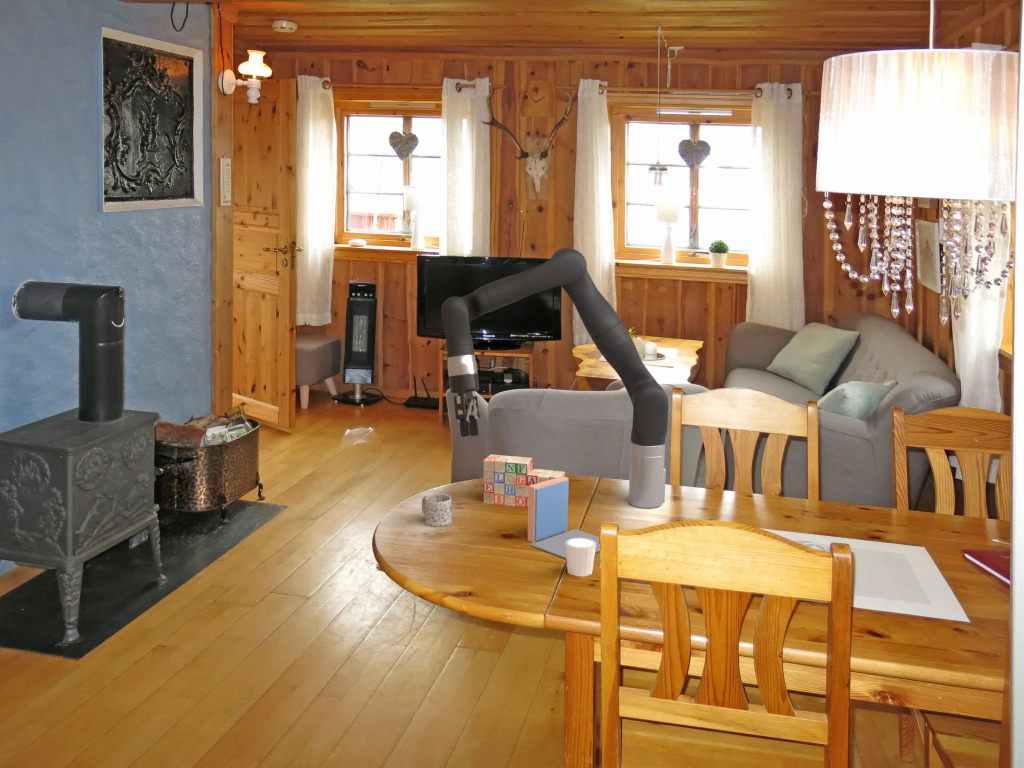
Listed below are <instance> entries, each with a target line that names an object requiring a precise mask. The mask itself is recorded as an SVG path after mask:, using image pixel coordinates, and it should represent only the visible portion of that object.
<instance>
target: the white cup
mask: <svg viewBox="0 0 1024 768" xmlns="http://www.w3.org/2000/svg"><path fill="white" fill-rule="evenodd" d="M595 548H596V542H595V541H593V540H591V539H587V538H572V539H569V540H567V541H566V556H567V560H566V567H567V568H566V569H567V573H568V574H569V575H571V576H573V575H574V576H573V577H579V576H580V577H581V578H582V577H589V576H591V575H592V574H593V572H594V562H595V555H596V554H595ZM592 571H593V572H592ZM590 574H591V575H590ZM588 575H589V576H588Z"/></svg>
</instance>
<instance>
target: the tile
mask: <svg viewBox="0 0 1024 768" xmlns="http://www.w3.org/2000/svg"><path fill="white" fill-rule="evenodd" d="M569 486H570V485H569V477H567V476H565V477H564V476H562V477H558V478H554V479H551V480H547V481H544V482H540V483H537V484H533V485H530V486H528V507H527V541H528V542H530V543H531V544H533V543H536V542H538V541H541V540H544V539H547V538H550V537H553V536H556V535H559V534H562V533H565V532H568V521H569V520H568V519H569V518H568V517H569Z"/></svg>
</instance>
